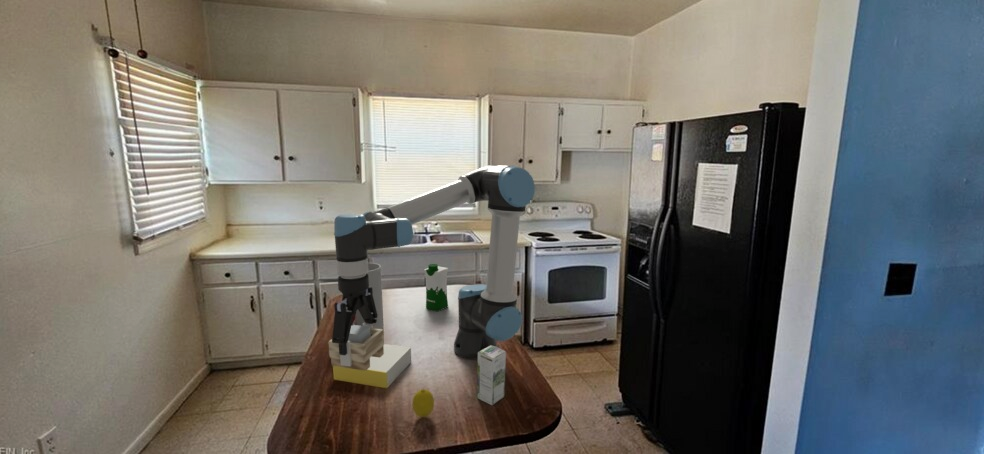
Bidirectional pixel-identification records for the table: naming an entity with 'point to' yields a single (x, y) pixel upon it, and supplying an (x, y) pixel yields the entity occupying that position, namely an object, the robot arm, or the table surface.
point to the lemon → (423, 403)
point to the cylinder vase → (374, 295)
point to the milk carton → (436, 287)
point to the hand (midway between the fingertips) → (358, 355)
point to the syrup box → (491, 374)
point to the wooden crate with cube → (360, 351)
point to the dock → (378, 368)
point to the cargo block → (359, 334)
